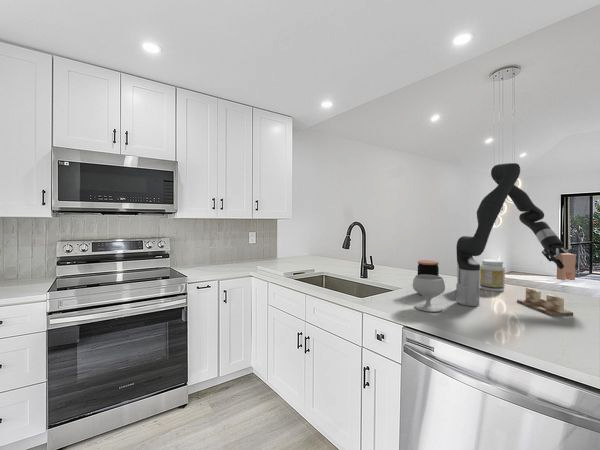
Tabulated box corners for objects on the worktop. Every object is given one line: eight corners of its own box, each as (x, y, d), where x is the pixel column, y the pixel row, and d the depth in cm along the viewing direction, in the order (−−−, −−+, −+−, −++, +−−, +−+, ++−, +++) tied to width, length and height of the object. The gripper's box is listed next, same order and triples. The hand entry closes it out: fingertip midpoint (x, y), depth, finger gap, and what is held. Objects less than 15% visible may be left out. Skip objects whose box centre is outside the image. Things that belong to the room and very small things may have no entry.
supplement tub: (484, 285, 185) (484, 258, 185) (507, 289, 176) (508, 260, 175) (476, 289, 177) (477, 260, 177) (500, 293, 168) (501, 262, 167)
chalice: (451, 310, 139) (451, 277, 138) (432, 315, 132) (432, 281, 131) (424, 302, 151) (425, 272, 150) (406, 307, 144) (406, 275, 143)
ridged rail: (517, 301, 151) (517, 287, 151) (536, 301, 151) (537, 287, 151) (550, 315, 131) (551, 299, 131) (573, 315, 131) (573, 298, 131)
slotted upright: (556, 278, 142) (557, 253, 142) (569, 278, 142) (570, 253, 142) (562, 280, 139) (563, 254, 139) (574, 280, 139) (575, 254, 139)
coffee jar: (441, 296, 161) (442, 263, 161) (421, 296, 162) (422, 263, 161) (433, 291, 172) (433, 260, 171) (414, 291, 172) (414, 260, 172)
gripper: (539, 234, 147) (559, 263, 136) (568, 235, 148) (590, 263, 136) (530, 244, 153) (549, 272, 142) (558, 244, 153) (579, 272, 142)
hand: (569, 267), depth 139 cm, fingers closed on slotted upright, 6 cm apart
